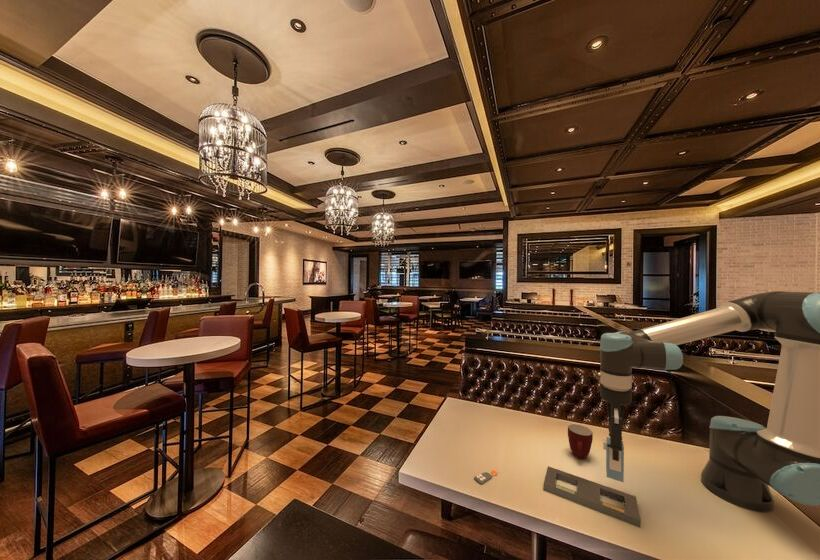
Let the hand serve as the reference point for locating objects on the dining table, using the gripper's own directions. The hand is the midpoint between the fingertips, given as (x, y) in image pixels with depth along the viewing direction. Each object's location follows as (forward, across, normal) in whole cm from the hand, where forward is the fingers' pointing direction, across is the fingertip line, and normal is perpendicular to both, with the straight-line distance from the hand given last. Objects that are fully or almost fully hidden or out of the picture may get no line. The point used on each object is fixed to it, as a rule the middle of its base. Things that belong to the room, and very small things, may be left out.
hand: (614, 465), depth 84 cm
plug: (+3, 0, 0) cm, 3 cm away
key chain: (+12, +8, -34) cm, 37 cm away
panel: (+12, 0, -6) cm, 14 cm away
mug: (+12, -20, -10) cm, 26 cm away
